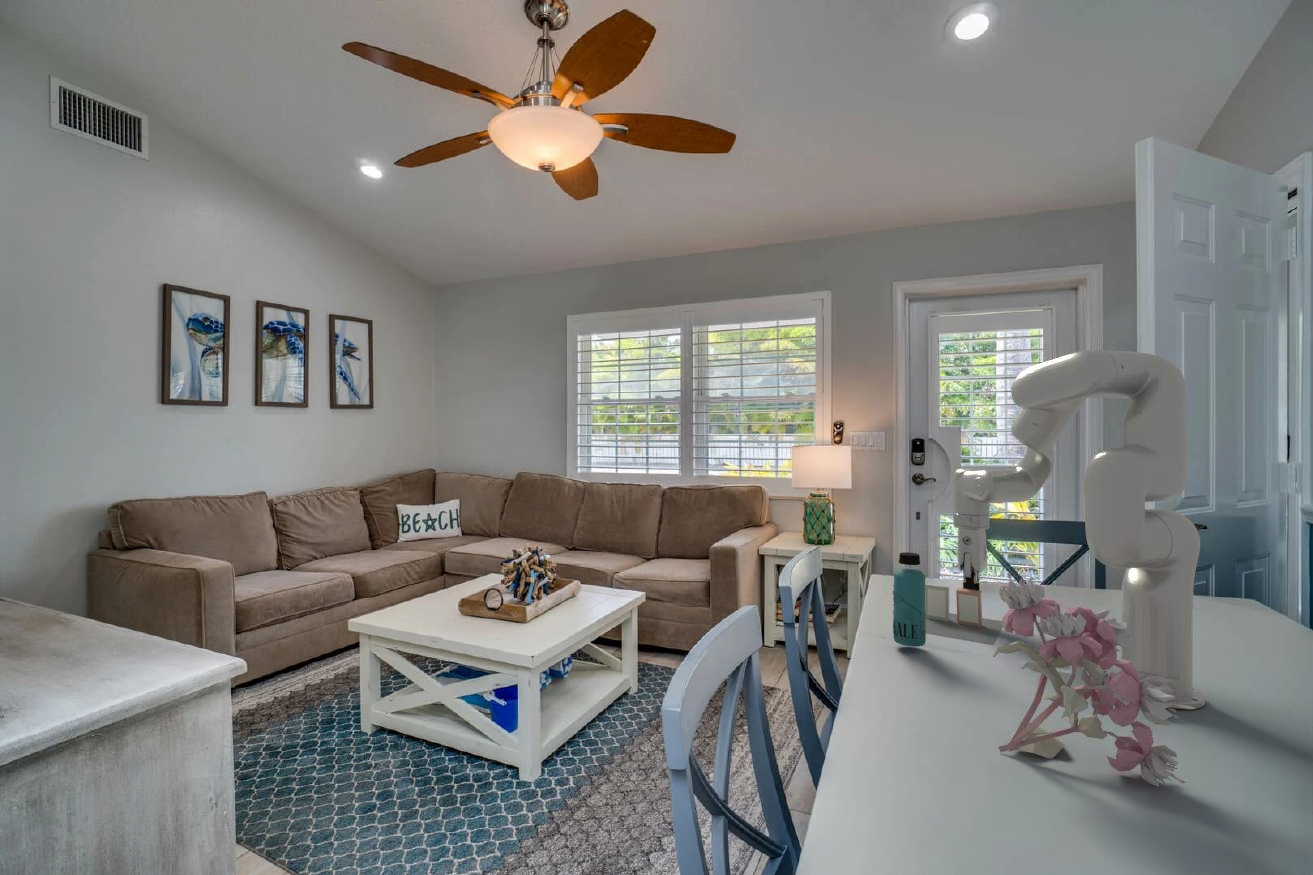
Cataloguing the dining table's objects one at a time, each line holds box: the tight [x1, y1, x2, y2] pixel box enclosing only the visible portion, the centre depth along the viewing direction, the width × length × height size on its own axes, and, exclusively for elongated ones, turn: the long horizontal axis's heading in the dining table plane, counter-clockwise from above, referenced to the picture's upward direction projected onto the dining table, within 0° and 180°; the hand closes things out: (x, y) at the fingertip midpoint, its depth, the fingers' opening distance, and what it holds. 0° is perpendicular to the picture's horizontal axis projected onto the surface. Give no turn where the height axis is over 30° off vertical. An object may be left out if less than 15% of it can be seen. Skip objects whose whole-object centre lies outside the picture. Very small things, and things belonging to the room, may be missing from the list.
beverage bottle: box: [892, 551, 927, 648], centre depth 129 cm, size 6×7×20 cm
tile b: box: [925, 583, 950, 621], centre depth 148 cm, size 2×5×8 cm, turn 54°
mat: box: [925, 612, 1004, 646], centre depth 143 cm, size 20×20×1 cm
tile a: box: [955, 587, 983, 627], centre depth 143 cm, size 2×5×8 cm, turn 54°
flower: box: [992, 572, 1197, 787], centre depth 83 cm, size 20×22×25 cm
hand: (971, 599), depth 145 cm, fingers closed
